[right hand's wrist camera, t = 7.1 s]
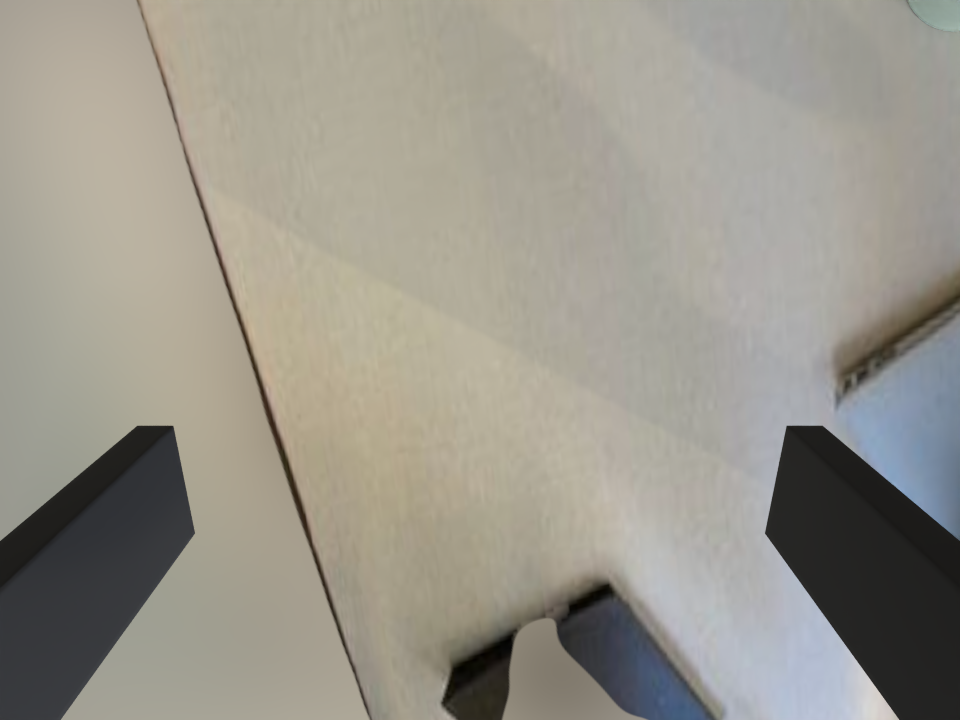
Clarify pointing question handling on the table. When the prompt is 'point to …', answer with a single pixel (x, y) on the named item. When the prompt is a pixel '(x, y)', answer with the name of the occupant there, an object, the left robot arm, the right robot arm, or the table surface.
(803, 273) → the table surface
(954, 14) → the jar
